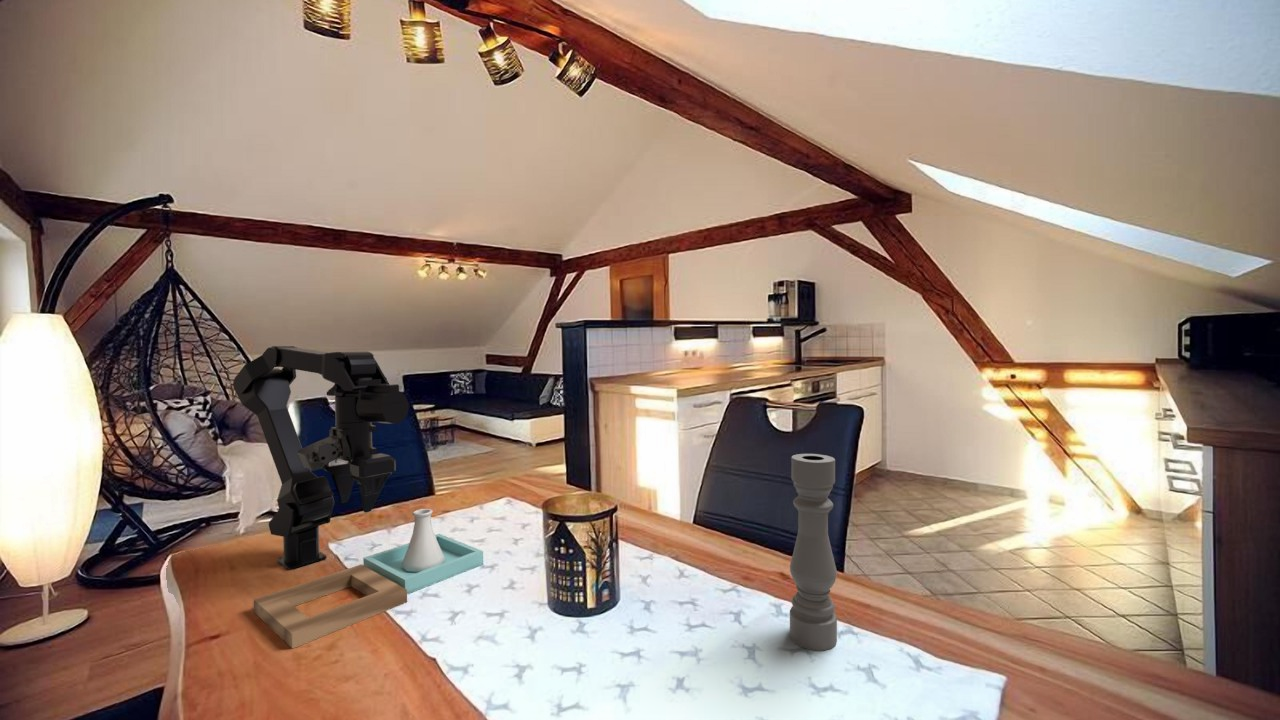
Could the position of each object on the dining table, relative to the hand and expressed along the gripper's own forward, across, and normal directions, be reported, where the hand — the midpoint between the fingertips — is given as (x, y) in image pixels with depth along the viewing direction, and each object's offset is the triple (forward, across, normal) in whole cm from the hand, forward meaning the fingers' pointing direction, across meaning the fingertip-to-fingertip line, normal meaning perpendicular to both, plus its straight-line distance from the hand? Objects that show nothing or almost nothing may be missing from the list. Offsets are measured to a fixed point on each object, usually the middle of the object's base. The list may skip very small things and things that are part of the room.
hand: (355, 506), depth 93 cm
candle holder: (+12, +73, +29) cm, 79 cm away
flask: (+12, +8, +8) cm, 16 cm away
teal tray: (+12, +8, +8) cm, 17 cm away
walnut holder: (+12, +10, -8) cm, 18 cm away
